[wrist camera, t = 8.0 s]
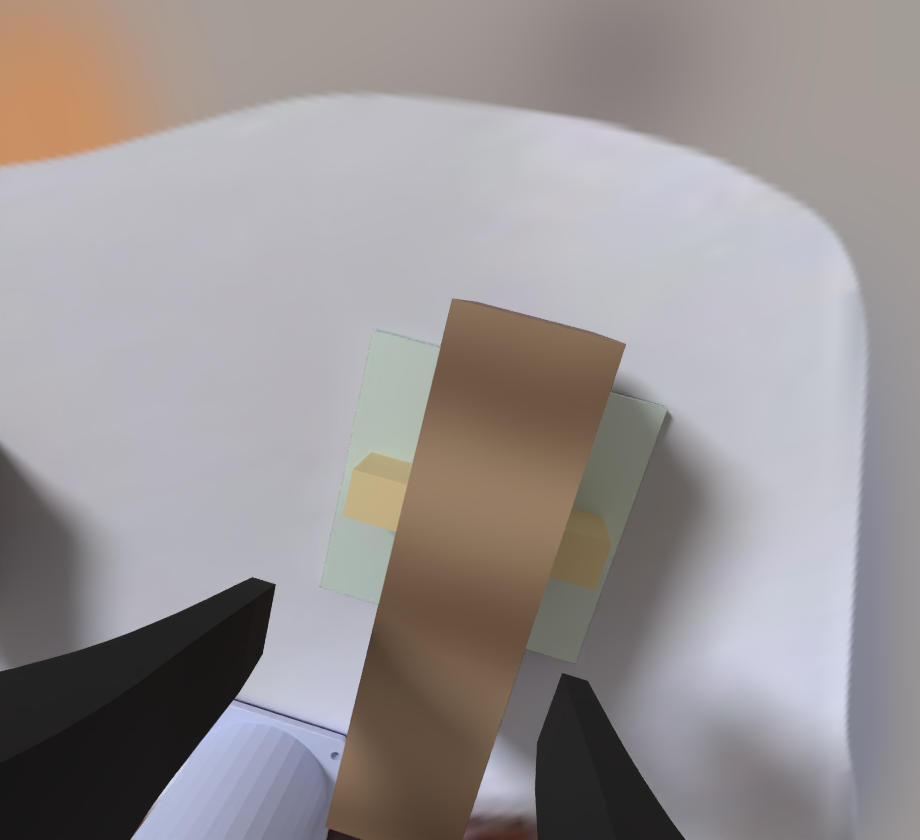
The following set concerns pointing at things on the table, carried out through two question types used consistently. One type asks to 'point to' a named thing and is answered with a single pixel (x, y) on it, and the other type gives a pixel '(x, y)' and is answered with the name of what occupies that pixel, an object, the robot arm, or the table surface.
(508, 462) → the walnut bar
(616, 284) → the table surface
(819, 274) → the table surface
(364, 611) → the table surface
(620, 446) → the ridge stand
